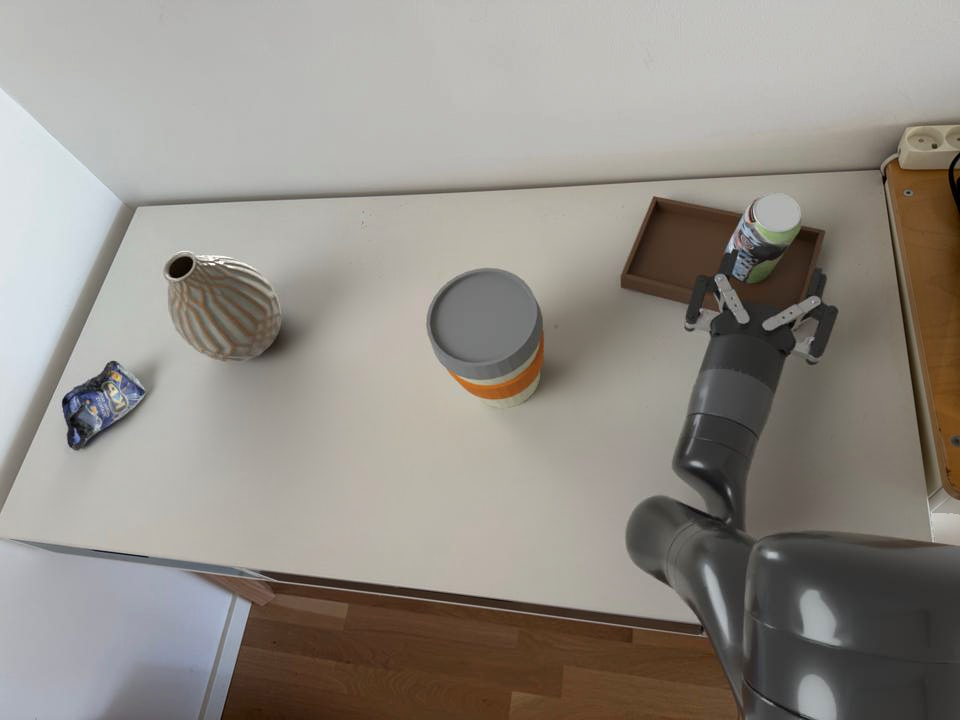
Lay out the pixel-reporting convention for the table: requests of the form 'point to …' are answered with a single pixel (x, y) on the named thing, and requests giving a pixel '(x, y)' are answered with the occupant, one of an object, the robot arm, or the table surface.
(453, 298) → the reusable coffee cup
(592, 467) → the table surface
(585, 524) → the table surface
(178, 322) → the vase
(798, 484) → the table surface
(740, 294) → the serving tray
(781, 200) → the beverage can
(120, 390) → the snack package
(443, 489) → the table surface
